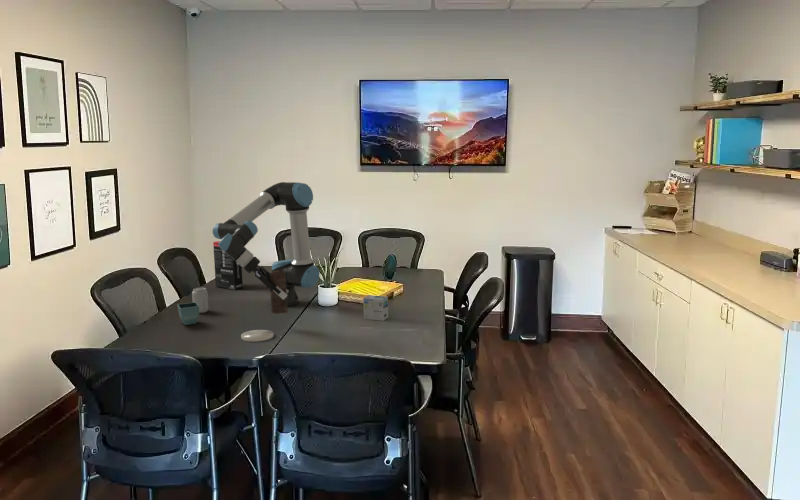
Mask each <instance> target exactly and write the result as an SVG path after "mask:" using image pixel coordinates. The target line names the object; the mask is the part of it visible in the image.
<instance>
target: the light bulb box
mask: <svg viewBox="0 0 800 500" xmlns="http://www.w3.org/2000/svg"><path fill="white" fill-rule="evenodd" d="M362 301H363V305H362V306H363V307H362V308H363V320H371V321H381V322H382V321H383V322H384V321H385V320H387V319H388V318H389V296H384V295H371V294H368V295H366V296H363V300H362Z"/></svg>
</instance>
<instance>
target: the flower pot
mask: <svg viewBox="0 0 800 500" xmlns="http://www.w3.org/2000/svg"><path fill="white" fill-rule="evenodd" d="M176 306H177V312H178V315H179V318H180V320H181V321H182V323H183V324H184V325H185V326H187V325H195V324H197V322H198V320H199V317H200V313H199V305H198V304H197V303H196V302H193V301H192V302H186V303H179V304H178V303H177V304H176Z"/></svg>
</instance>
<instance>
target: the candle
mask: <svg viewBox="0 0 800 500" xmlns="http://www.w3.org/2000/svg"><path fill="white" fill-rule="evenodd" d="M269 273H270V280H271V281H272V282H273V283H274V284H275V285H276V286H278V287H279V288H280V289H281V290H282V291H283V292H285V293H286V276H285V271H273V272H272V271H271V272H269ZM269 292H270V298H271V305H270V309H271V311H270V312H271V313H272V314H277V315H281V314H283V315H284V314H288V311H289V310H288V306H287V297H286V298H285V299H284V300H283V299H282V298H281V297H280V296H278V295H277V294H276V293H275V292H274V291H273V290H272V291H270V290H269Z"/></svg>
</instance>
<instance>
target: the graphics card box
mask: <svg viewBox="0 0 800 500" xmlns="http://www.w3.org/2000/svg"><path fill="white" fill-rule="evenodd" d="M220 241H221V240H219V241H213V243H212V245H213V259H214V260H213V261H214V276H215V277H214V279H215V287H216V288H217V287H218V288H222V289H226V290H227V289H228V290H233V291H237V290H240V289H243V287H244V286H243V285H244V284H243V267H241V266H240V265H237V262H236V261H235V260H233V259H232V258H231V257H230V256H229V255H228V254H226V253H225V252H224V251H223V250H222V249H221V248H220V247H219V245H218V243H219V242H220Z"/></svg>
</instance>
